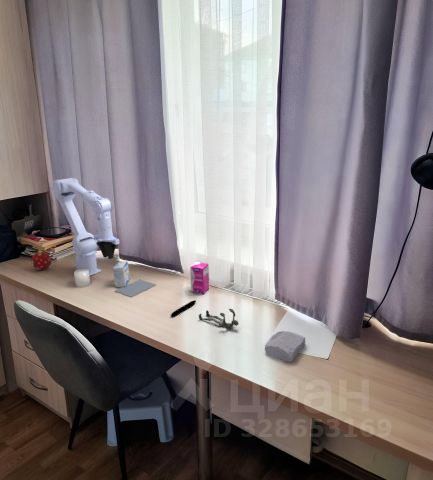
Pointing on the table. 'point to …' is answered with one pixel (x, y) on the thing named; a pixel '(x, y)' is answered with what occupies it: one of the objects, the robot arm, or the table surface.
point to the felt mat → (135, 288)
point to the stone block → (285, 345)
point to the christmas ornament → (41, 260)
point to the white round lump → (82, 278)
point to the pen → (183, 308)
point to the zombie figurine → (222, 321)
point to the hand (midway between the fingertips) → (108, 257)
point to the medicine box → (121, 274)
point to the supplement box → (199, 278)
